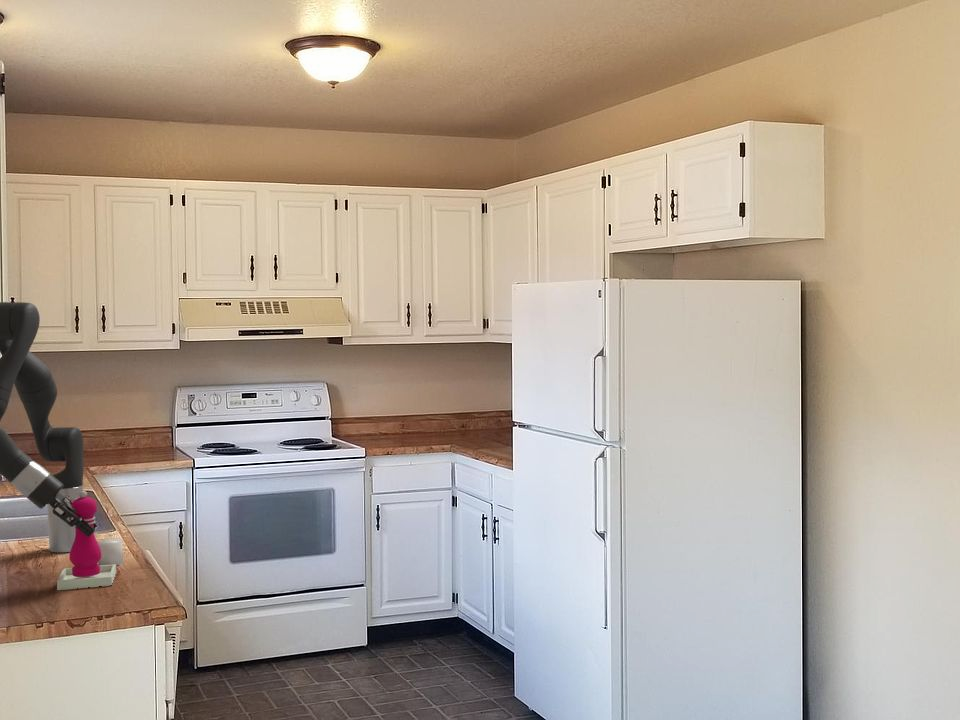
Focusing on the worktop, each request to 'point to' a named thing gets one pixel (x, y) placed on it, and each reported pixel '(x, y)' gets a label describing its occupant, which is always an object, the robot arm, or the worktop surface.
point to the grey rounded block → (111, 551)
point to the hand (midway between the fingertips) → (93, 531)
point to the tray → (86, 578)
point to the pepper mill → (85, 540)
